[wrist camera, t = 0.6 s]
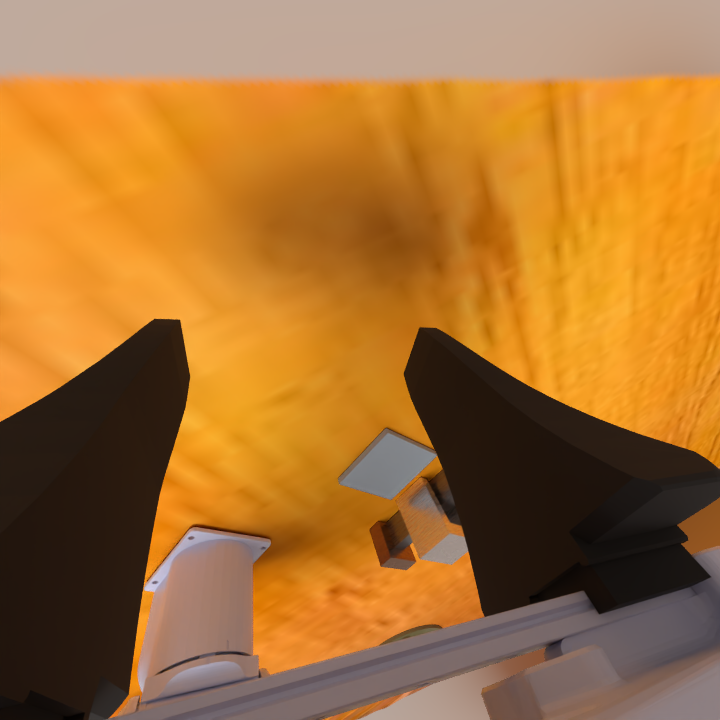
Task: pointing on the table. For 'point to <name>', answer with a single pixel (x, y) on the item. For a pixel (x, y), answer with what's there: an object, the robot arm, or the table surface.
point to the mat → (387, 465)
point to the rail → (405, 530)
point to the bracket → (431, 524)
